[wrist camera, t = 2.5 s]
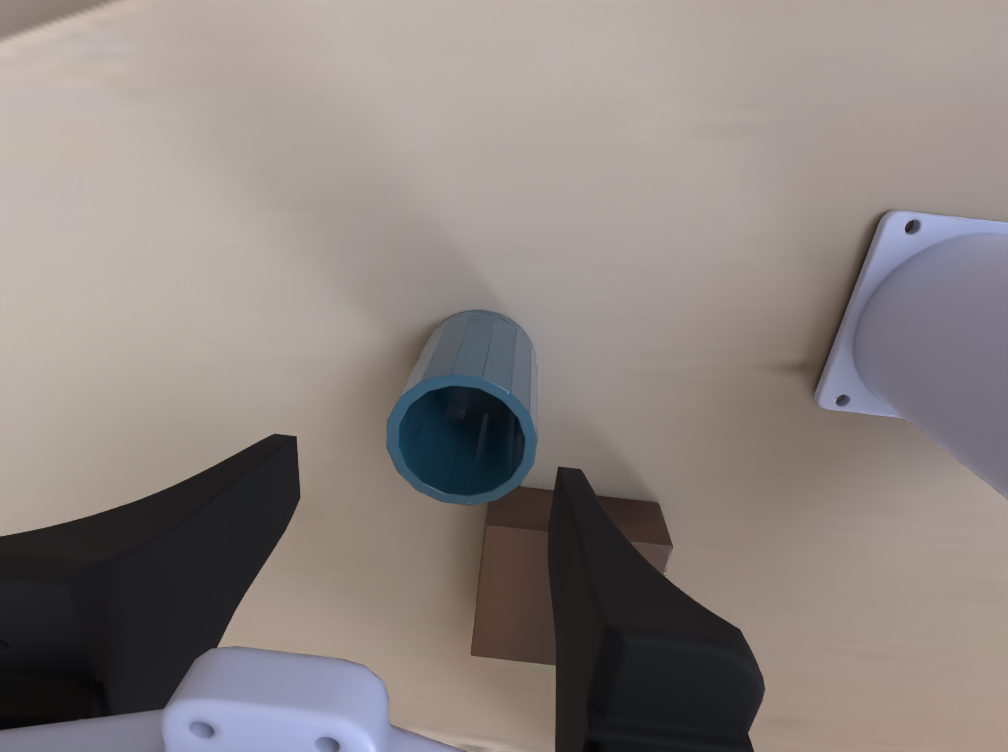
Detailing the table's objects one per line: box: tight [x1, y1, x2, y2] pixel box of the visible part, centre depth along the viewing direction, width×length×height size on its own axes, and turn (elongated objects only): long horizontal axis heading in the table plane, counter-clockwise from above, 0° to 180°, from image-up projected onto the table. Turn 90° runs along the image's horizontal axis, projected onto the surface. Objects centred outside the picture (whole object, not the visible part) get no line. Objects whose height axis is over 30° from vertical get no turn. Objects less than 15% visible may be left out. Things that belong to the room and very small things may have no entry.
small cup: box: [386, 310, 538, 505], centre depth 21 cm, size 5×5×6 cm
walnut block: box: [471, 487, 673, 666], centre depth 26 cm, size 8×8×3 cm
